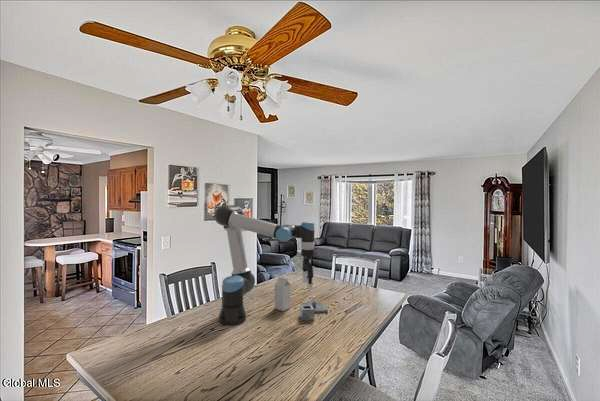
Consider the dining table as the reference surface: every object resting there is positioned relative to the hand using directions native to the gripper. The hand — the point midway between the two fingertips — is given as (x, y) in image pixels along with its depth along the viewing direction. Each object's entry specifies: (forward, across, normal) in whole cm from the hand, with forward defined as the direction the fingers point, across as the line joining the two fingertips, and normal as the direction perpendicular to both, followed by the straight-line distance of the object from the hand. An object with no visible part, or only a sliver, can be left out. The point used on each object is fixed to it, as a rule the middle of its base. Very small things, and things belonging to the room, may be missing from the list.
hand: (307, 285), depth 165 cm
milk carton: (+19, +16, +12) cm, 28 cm away
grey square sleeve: (+18, 0, 0) cm, 18 cm away
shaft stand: (+18, +13, -7) cm, 24 cm away
